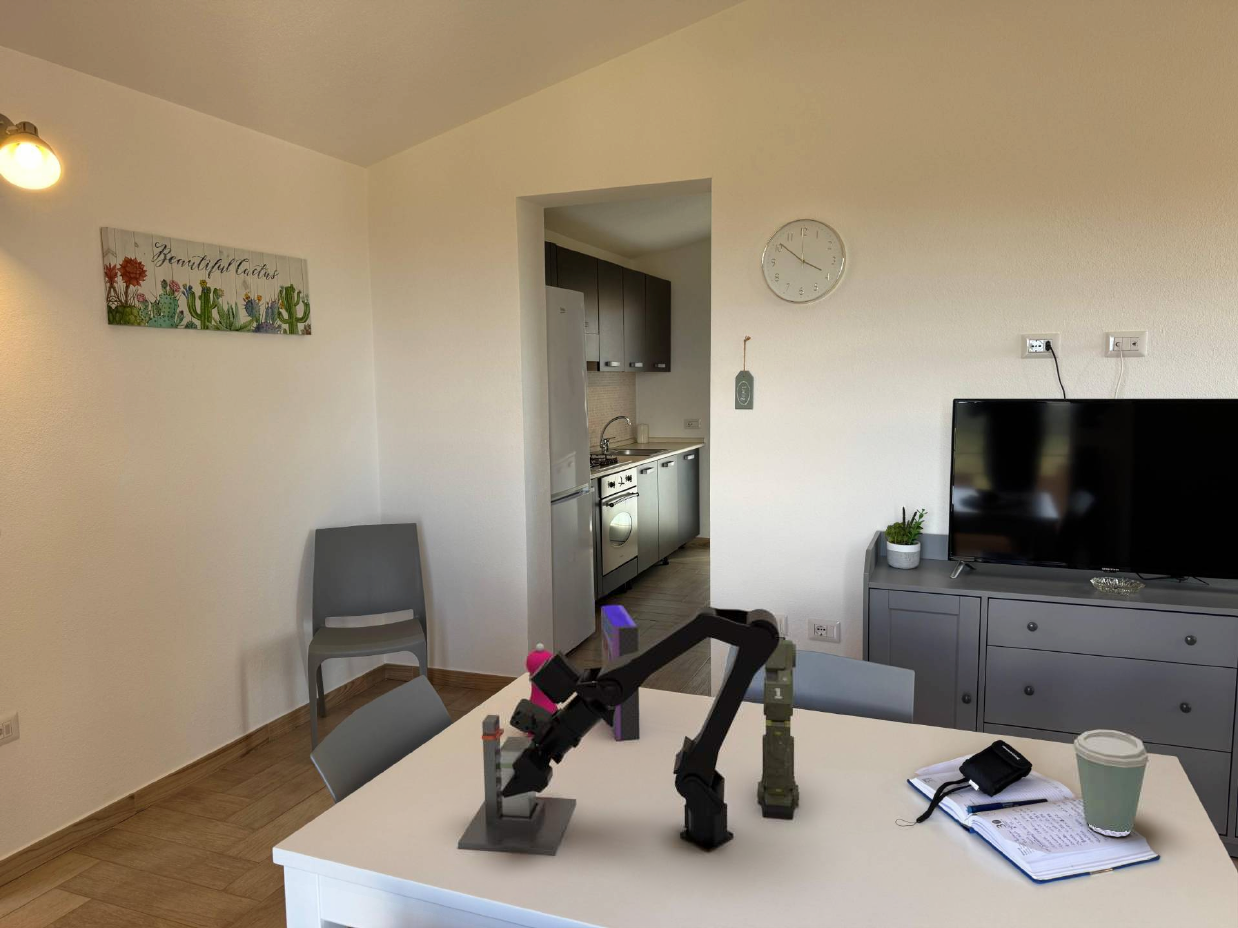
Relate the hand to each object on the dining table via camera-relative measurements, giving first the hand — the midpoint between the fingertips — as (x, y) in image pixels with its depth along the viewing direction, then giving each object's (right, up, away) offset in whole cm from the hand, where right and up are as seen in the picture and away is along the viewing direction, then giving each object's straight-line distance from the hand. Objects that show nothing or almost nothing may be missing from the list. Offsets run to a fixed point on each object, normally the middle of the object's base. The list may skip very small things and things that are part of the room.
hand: (510, 781), depth 141 cm
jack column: (+1, -6, 0) cm, 6 cm away
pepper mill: (+2, -4, +36) cm, 36 cm away
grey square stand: (+1, -7, +1) cm, 8 cm away
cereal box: (+19, -3, +41) cm, 46 cm away
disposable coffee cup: (+98, -6, -3) cm, 99 cm away
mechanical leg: (+46, -6, +7) cm, 47 cm away
